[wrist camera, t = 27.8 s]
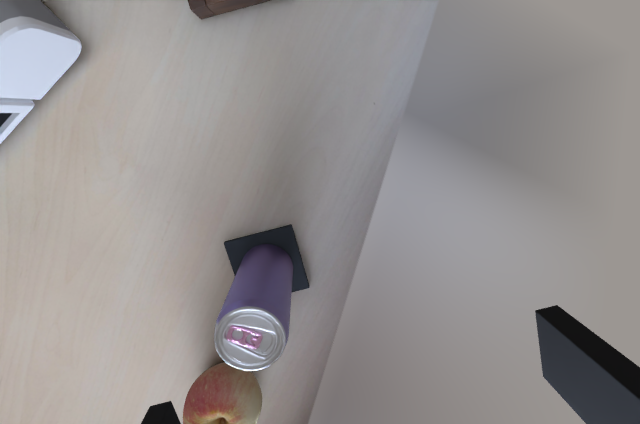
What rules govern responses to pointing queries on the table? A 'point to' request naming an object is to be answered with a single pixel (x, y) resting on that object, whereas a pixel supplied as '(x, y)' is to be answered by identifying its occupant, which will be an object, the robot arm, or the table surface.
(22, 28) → the alarm clock
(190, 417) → the apple
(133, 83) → the table surface
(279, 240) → the coaster
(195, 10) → the holder
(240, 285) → the beverage can
